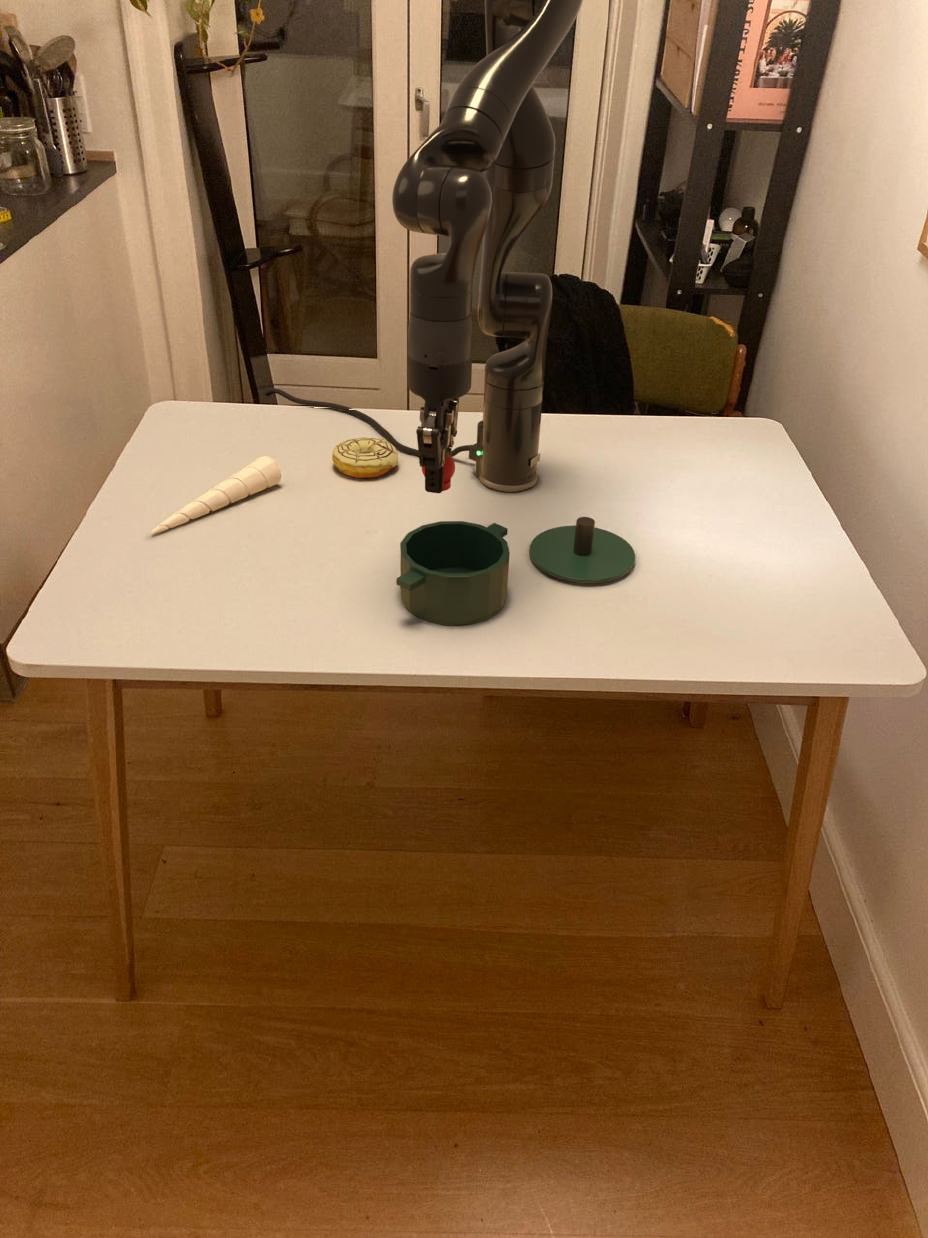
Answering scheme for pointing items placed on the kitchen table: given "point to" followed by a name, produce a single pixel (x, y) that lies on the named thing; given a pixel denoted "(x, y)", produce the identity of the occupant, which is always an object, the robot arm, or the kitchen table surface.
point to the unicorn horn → (228, 492)
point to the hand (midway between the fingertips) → (438, 482)
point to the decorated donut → (365, 457)
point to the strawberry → (446, 470)
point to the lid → (582, 553)
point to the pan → (454, 571)
